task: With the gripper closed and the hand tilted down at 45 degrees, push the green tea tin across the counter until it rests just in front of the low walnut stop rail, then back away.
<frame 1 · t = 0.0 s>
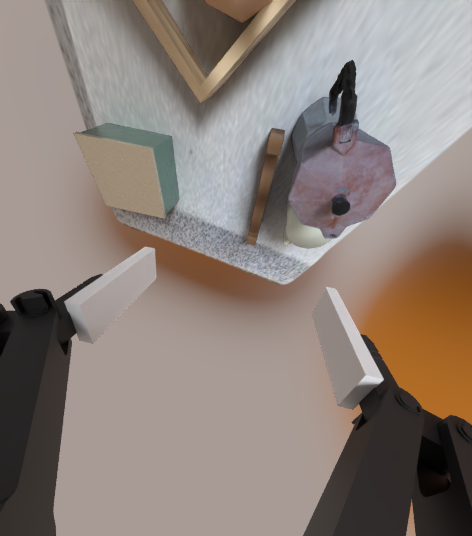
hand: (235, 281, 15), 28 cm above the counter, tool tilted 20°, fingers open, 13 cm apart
green tea tin: (148, 164, 38), on the counter
sage mug: (308, 203, 37), on the counter
moka pot: (320, 132, 29), on the counter
walnut stop rail: (263, 190, 37), on the counter
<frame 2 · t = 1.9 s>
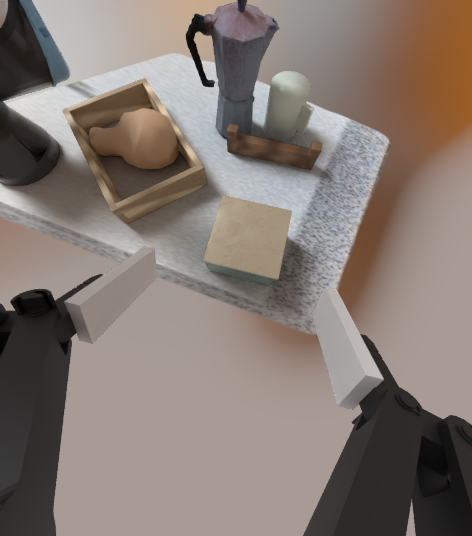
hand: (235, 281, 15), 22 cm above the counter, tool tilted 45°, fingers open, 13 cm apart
squash: (142, 156, 44), resting in pine crate
green tea tin: (245, 250, 39), on the counter
sage mug: (279, 128, 47), on the counter
pine crate: (141, 157, 44), on the counter
moka pot: (232, 128, 47), on the counter
walnut stop rail: (269, 157, 44), on the counter
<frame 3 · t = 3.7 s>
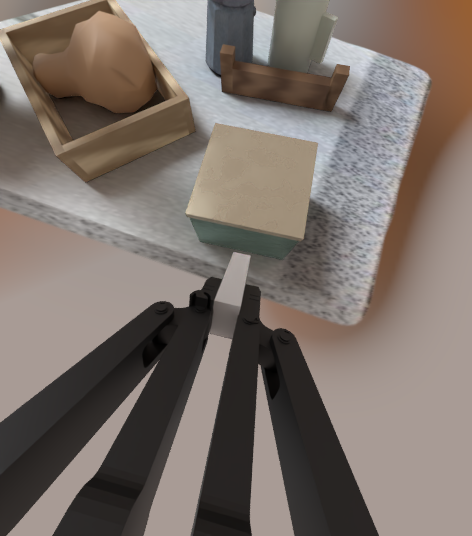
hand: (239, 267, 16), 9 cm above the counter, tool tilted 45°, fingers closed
squash: (109, 98, 33), resting in pine crate
green tea tin: (249, 214, 28), on the counter
sage mug: (288, 64, 36), on the counter
pine crate: (108, 99, 33), on the counter
moka pot: (228, 65, 36), on the counter
walnut stop rail: (276, 97, 34), on the counter
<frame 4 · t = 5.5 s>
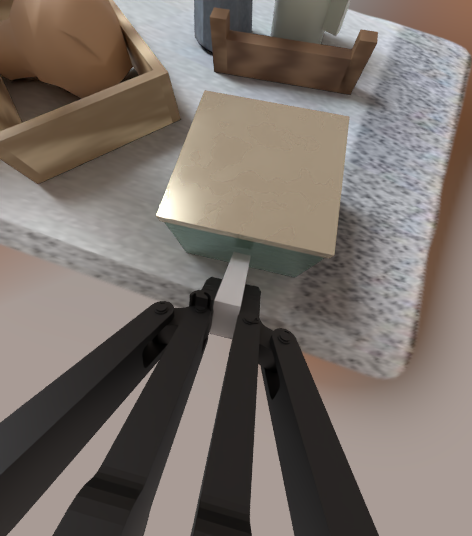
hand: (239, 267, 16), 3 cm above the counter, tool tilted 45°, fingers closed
squash: (74, 81, 27), resting in pine crate
green tea tin: (251, 216, 22), on the counter, touching gripper
sage mug: (295, 39, 30), on the counter
pine crate: (74, 82, 27), on the counter
moka pot: (222, 41, 30), on the counter
walnut stop rail: (282, 78, 27), on the counter
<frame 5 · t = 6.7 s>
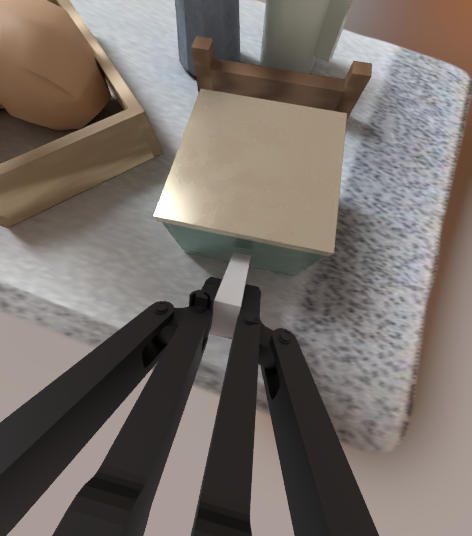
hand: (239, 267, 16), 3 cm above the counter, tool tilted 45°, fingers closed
squash: (51, 110, 25), resting in pine crate
green tea tin: (250, 215, 22), on the counter
sage mug: (286, 62, 28), on the counter
pine crate: (50, 111, 25), on the counter
moka pot: (209, 64, 28), on the counter
walnut stop rail: (271, 106, 26), on the counter
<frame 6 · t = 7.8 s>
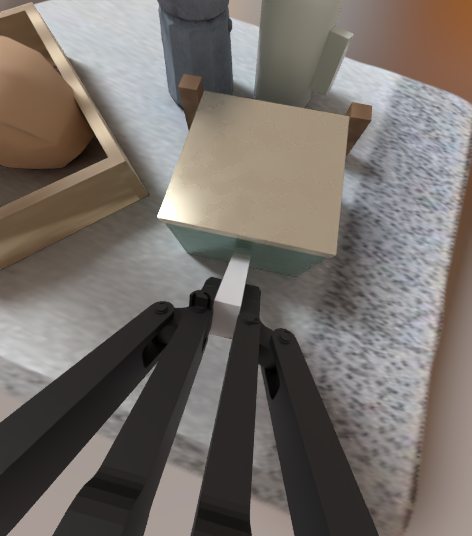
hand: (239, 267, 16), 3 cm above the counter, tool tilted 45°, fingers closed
squash: (31, 146, 24), resting in pine crate
green tea tin: (252, 217, 22), on the counter, touching gripper
sage mug: (282, 93, 27), on the counter
pine crate: (30, 147, 24), on the counter
moka pot: (200, 95, 27), on the counter
walnut stop rail: (265, 141, 24), on the counter
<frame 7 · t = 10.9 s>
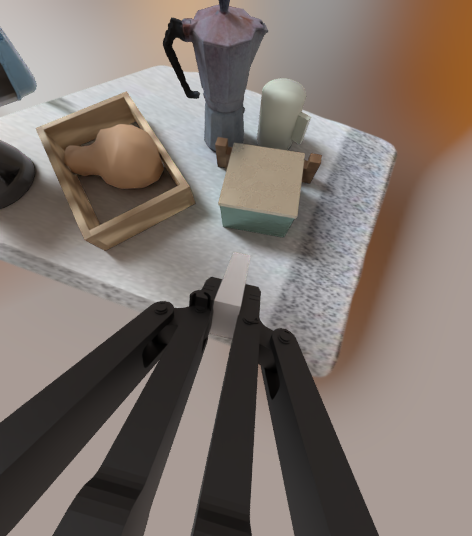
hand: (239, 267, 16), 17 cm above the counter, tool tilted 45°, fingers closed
squash: (124, 174, 40), resting in pine crate
green tea tin: (258, 206, 38), on the counter
sage mug: (274, 139, 43), on the counter
pine crate: (123, 175, 40), on the counter
moka pot: (223, 141, 43), on the counter
walnut stop rail: (264, 171, 40), on the counter
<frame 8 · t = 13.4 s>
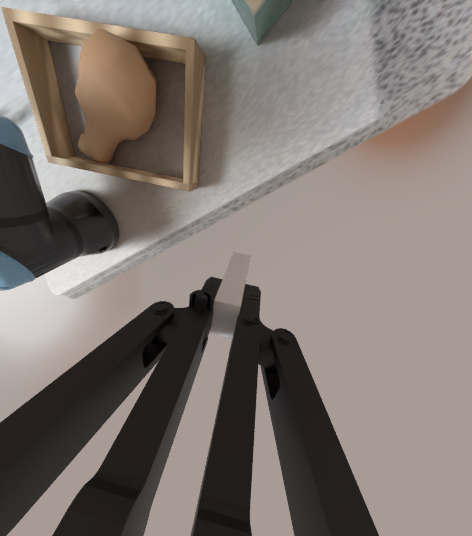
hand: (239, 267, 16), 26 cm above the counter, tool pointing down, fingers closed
squash: (127, 116, 35), resting in pine crate
pine crate: (127, 117, 35), on the counter
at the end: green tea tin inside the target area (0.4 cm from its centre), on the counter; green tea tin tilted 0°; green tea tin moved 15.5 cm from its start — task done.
